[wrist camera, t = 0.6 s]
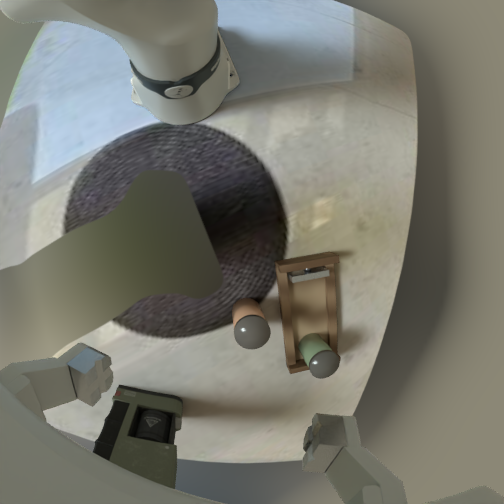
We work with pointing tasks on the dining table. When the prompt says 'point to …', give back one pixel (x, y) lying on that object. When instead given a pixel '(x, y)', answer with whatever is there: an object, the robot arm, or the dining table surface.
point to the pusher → (307, 274)
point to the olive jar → (318, 355)
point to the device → (142, 434)
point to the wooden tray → (307, 305)
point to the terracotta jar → (249, 324)
